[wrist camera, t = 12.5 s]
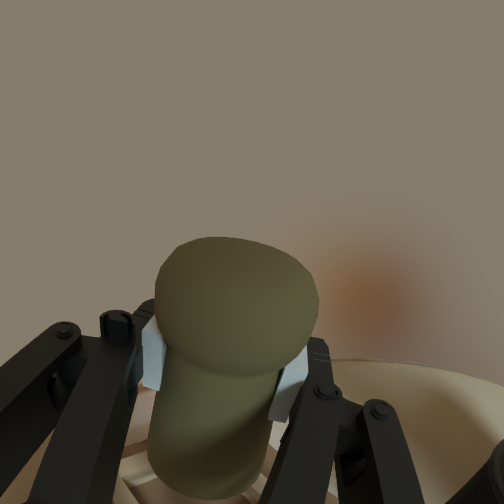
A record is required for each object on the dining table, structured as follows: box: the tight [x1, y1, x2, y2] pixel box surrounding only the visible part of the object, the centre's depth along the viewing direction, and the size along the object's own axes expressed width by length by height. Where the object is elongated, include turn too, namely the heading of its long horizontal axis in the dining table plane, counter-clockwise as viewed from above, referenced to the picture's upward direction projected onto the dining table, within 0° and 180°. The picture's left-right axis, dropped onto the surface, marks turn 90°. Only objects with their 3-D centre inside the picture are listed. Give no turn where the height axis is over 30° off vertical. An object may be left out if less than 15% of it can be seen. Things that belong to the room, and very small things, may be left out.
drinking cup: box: [445, 439, 504, 504], centre depth 8 cm, size 8×8×20 cm
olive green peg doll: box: [147, 237, 319, 501], centre depth 11 cm, size 6×6×11 cm
